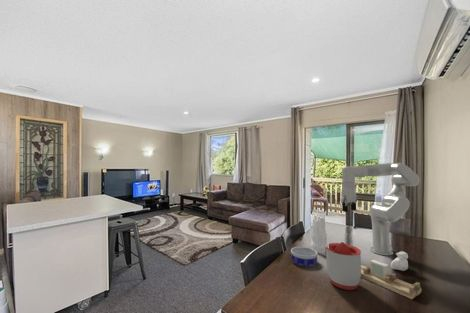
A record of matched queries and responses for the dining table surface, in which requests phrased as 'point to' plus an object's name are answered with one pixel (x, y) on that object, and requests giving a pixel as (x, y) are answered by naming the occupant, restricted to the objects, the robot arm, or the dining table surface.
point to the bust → (400, 261)
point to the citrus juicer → (343, 265)
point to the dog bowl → (304, 256)
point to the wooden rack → (392, 283)
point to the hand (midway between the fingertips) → (349, 210)
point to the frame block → (379, 269)
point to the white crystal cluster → (319, 234)
